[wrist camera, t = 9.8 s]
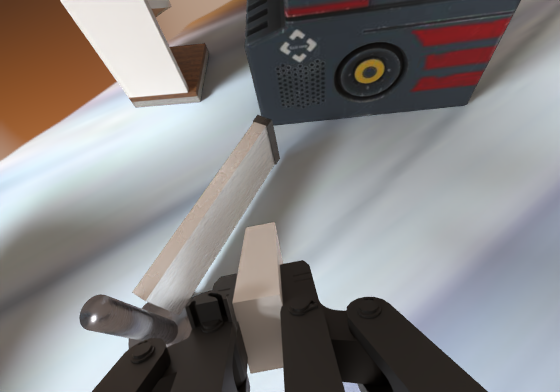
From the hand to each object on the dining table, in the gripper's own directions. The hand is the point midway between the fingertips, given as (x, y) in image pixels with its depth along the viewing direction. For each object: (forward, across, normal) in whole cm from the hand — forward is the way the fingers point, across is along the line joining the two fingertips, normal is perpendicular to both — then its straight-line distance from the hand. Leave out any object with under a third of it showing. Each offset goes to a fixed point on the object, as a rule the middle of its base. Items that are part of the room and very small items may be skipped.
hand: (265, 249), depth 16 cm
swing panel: (+19, -5, -5) cm, 21 cm away
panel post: (+14, -13, -13) cm, 23 cm away
